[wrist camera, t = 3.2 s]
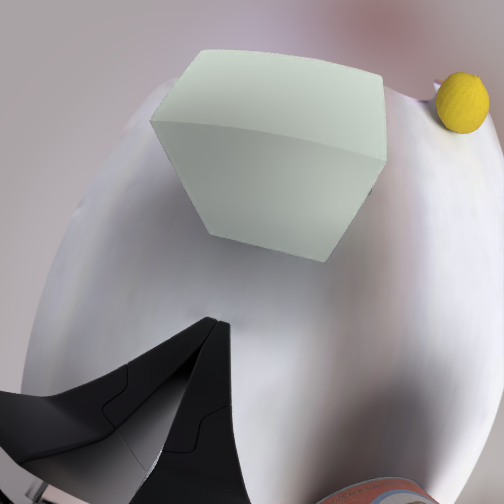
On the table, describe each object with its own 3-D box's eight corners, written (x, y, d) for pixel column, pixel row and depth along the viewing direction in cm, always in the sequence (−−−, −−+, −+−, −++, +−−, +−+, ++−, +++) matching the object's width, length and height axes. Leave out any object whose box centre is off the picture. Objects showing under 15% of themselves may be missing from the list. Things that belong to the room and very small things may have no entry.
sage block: (324, 262, 18) (386, 161, 7) (209, 234, 19) (149, 120, 8) (336, 198, 19) (381, 76, 9) (231, 175, 20) (202, 49, 10)
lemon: (425, 102, 22) (449, 51, 15) (464, 124, 21) (493, 78, 14) (425, 132, 21) (457, 75, 13) (468, 156, 20) (506, 108, 12)
